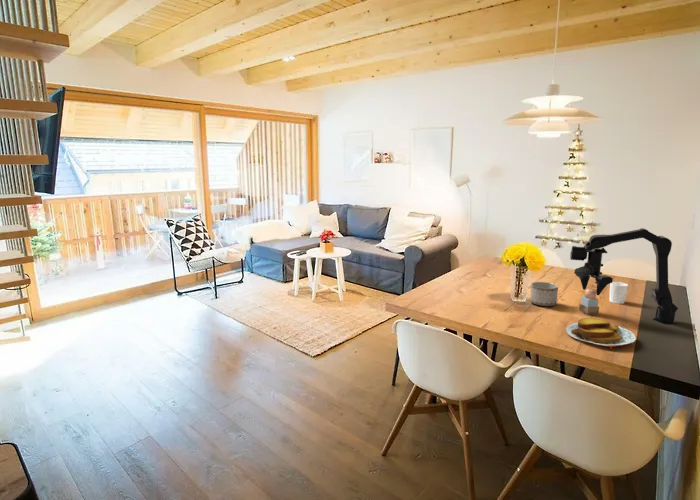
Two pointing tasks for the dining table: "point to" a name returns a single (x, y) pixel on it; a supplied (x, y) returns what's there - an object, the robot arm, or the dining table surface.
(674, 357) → the dining table surface
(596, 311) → the tower base
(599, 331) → the food on plate
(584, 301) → the tower top
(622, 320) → the dining table surface
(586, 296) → the pink rounded block
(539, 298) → the planter
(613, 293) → the white cup
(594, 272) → the robot arm
